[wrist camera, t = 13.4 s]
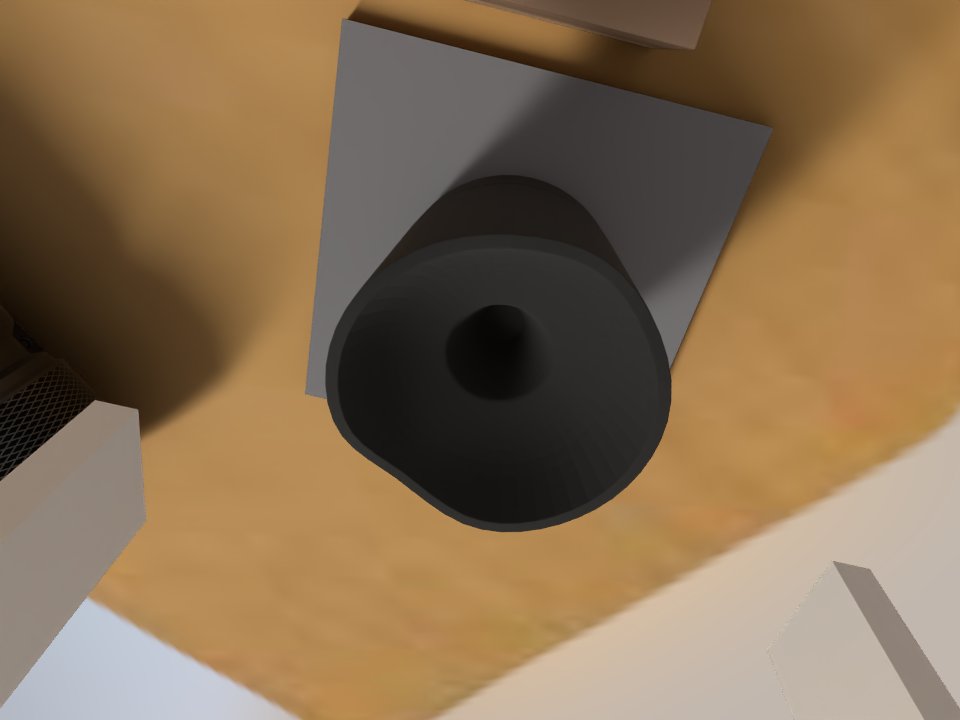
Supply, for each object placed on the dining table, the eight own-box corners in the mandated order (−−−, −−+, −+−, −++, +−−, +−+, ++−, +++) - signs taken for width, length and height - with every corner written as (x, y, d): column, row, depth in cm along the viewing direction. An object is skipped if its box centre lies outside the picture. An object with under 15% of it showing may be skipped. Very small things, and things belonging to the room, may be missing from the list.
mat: (346, 19, 22) (342, 18, 21) (768, 126, 22) (773, 127, 22) (309, 387, 29) (305, 394, 29) (625, 459, 30) (627, 467, 29)
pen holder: (416, 382, 28) (364, 538, 19) (376, 175, 24) (285, 254, 15) (621, 367, 27) (667, 526, 18) (618, 148, 22) (677, 215, 14)
